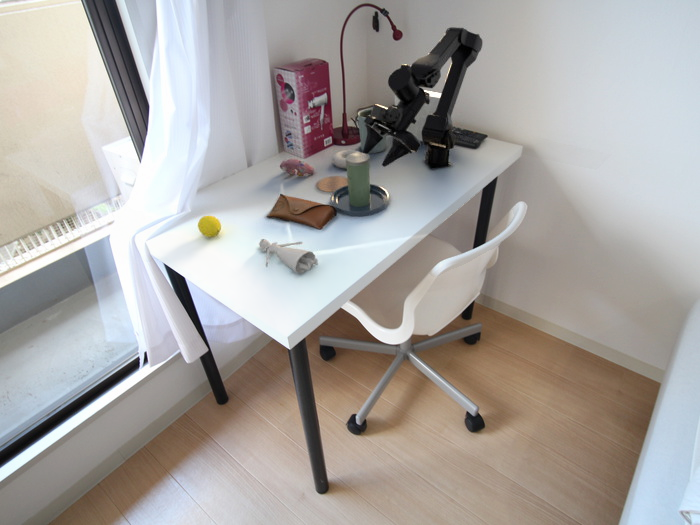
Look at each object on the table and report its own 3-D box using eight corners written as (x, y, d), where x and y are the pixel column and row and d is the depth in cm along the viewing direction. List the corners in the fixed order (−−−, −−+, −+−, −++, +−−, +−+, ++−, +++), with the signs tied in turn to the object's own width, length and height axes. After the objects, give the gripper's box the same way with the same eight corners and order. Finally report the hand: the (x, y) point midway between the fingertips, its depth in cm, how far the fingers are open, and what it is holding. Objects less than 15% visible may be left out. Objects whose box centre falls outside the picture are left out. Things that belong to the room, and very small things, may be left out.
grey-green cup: (357, 143, 154) (356, 109, 146) (385, 140, 154) (385, 107, 147) (361, 155, 145) (360, 119, 138) (391, 152, 146) (391, 116, 139)
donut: (362, 170, 136) (365, 157, 144) (362, 160, 134) (364, 147, 142) (331, 171, 137) (335, 157, 145) (330, 161, 135) (334, 147, 143)
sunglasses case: (264, 216, 116) (267, 192, 115) (278, 217, 122) (282, 193, 121) (322, 230, 109) (326, 204, 108) (334, 230, 115) (339, 205, 114)
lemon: (196, 235, 112) (190, 217, 108) (214, 226, 115) (208, 208, 111) (210, 244, 108) (205, 226, 104) (229, 235, 111) (224, 217, 107)
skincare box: (450, 142, 150) (454, 95, 140) (441, 147, 147) (445, 99, 137) (402, 129, 162) (403, 85, 152) (393, 134, 159) (393, 89, 149)
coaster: (347, 176, 134) (346, 174, 133) (353, 190, 126) (353, 188, 125) (315, 180, 132) (314, 178, 132) (319, 195, 125) (319, 193, 124)
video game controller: (283, 178, 138) (275, 164, 132) (288, 167, 140) (281, 152, 134) (311, 182, 135) (304, 168, 129) (316, 170, 137) (309, 156, 130)
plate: (380, 186, 127) (380, 179, 126) (395, 212, 115) (395, 206, 113) (327, 193, 125) (326, 187, 124) (336, 222, 113) (335, 215, 111)
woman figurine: (292, 270, 90) (240, 246, 100) (296, 287, 92) (244, 262, 103) (330, 244, 97) (277, 224, 107) (332, 260, 99) (280, 239, 110)
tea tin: (368, 194, 122) (366, 151, 115) (373, 205, 118) (372, 160, 110) (346, 197, 122) (343, 154, 114) (351, 208, 117) (348, 163, 109)
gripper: (368, 83, 113) (335, 134, 116) (412, 99, 100) (374, 156, 103) (392, 107, 121) (361, 154, 123) (436, 125, 108) (400, 177, 110)
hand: (373, 160), depth 115 cm, fingers open, 9 cm apart
